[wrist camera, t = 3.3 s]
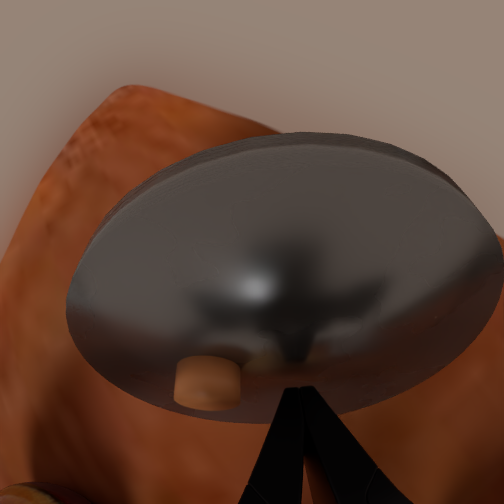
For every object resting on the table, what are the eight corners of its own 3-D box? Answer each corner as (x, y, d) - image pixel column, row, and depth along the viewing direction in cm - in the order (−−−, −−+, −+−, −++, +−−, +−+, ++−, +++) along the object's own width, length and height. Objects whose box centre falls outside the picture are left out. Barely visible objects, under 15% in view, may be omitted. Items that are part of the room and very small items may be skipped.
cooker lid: (407, 381, 14) (416, 418, 12) (160, 401, 14) (156, 440, 12) (542, 155, 5) (596, 210, 3) (0, 183, 5) (-52, 251, 3)
